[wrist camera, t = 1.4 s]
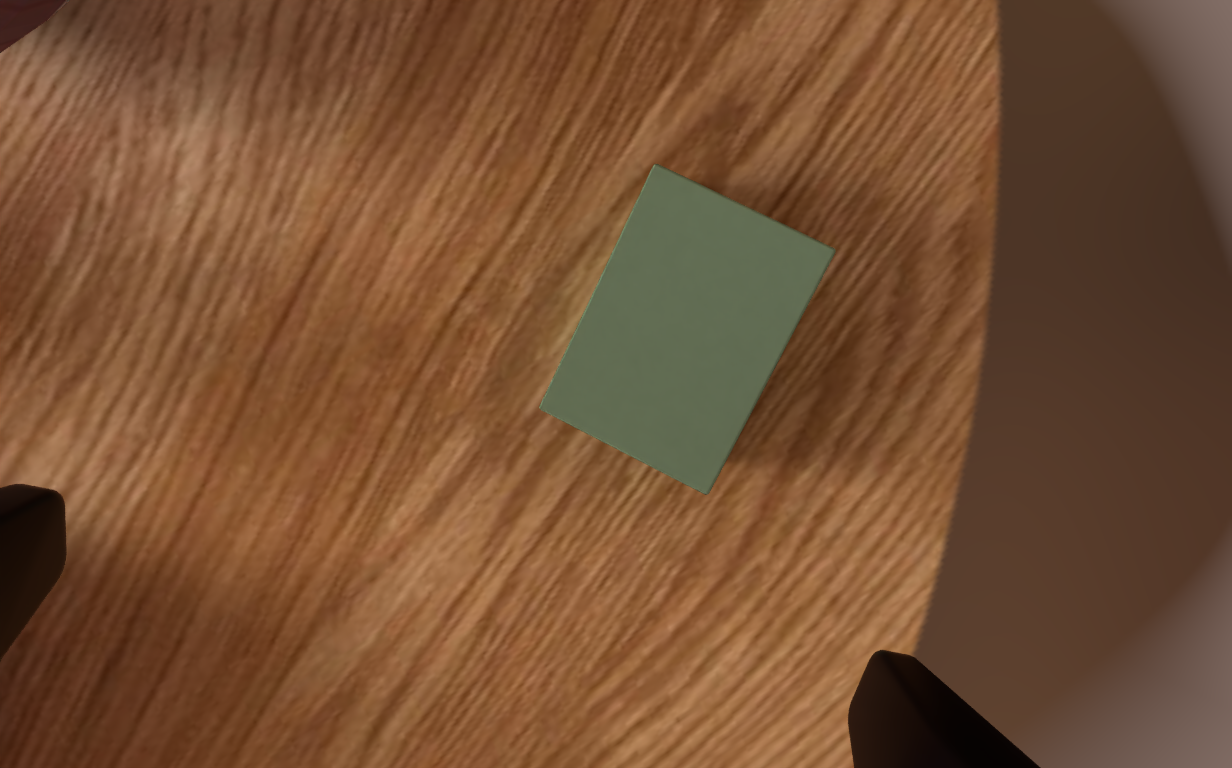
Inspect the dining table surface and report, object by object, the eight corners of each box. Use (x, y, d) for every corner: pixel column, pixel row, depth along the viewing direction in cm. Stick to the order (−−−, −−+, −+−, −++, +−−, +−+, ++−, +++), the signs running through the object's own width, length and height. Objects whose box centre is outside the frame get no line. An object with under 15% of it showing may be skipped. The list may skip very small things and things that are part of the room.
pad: (820, 256, 23) (837, 249, 19) (712, 464, 25) (707, 496, 21) (668, 183, 24) (654, 161, 20) (569, 390, 25) (537, 408, 21)
